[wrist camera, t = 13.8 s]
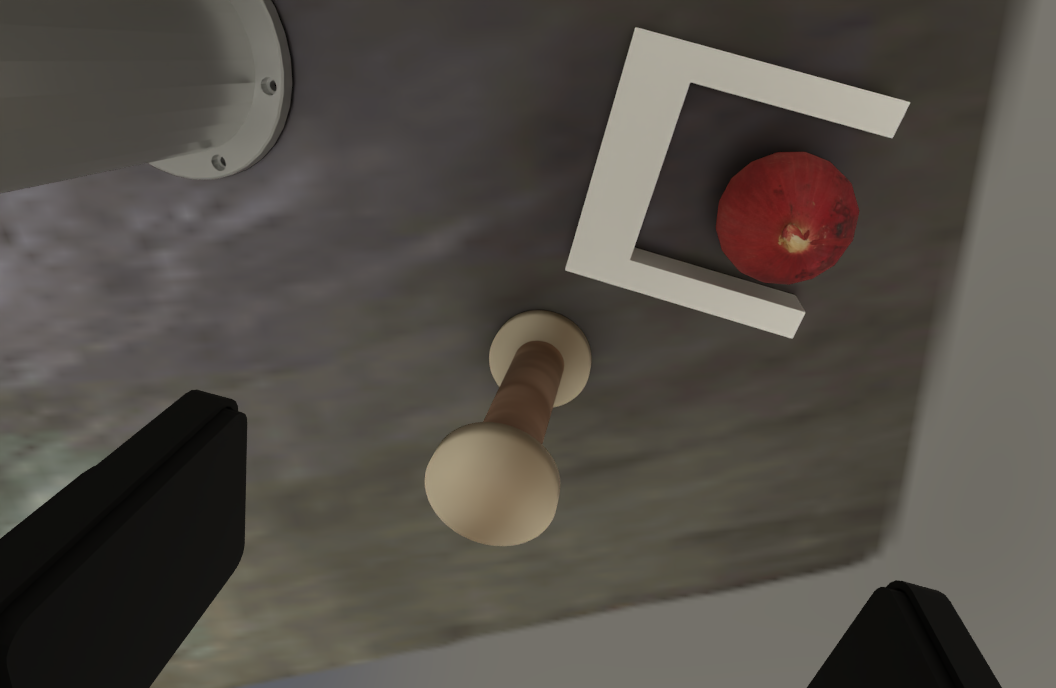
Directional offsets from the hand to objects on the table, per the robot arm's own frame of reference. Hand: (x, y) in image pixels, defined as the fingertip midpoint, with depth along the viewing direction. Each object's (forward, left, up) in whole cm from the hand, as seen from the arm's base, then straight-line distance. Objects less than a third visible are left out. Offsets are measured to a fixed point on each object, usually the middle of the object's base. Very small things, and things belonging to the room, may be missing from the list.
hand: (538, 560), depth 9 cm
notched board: (+4, +2, -26) cm, 26 cm away
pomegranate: (+7, +2, -26) cm, 27 cm away
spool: (-2, -10, -26) cm, 28 cm away
